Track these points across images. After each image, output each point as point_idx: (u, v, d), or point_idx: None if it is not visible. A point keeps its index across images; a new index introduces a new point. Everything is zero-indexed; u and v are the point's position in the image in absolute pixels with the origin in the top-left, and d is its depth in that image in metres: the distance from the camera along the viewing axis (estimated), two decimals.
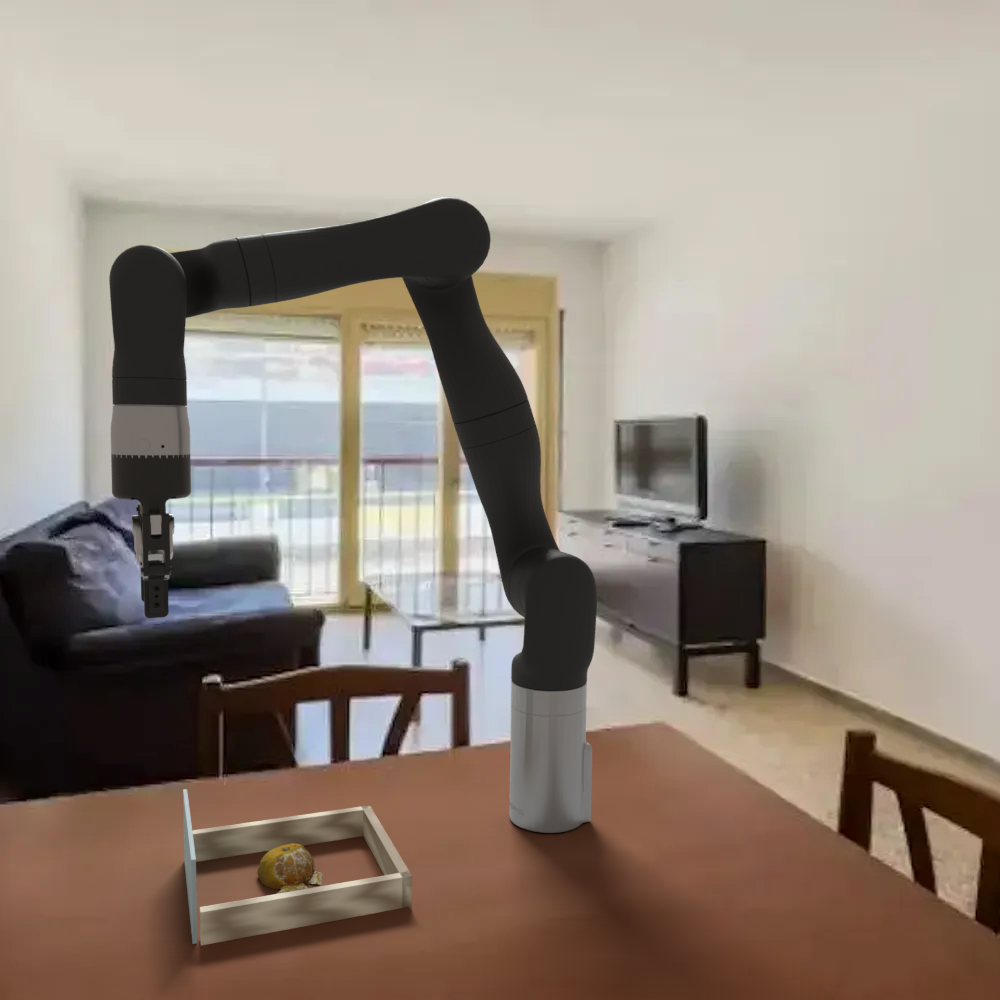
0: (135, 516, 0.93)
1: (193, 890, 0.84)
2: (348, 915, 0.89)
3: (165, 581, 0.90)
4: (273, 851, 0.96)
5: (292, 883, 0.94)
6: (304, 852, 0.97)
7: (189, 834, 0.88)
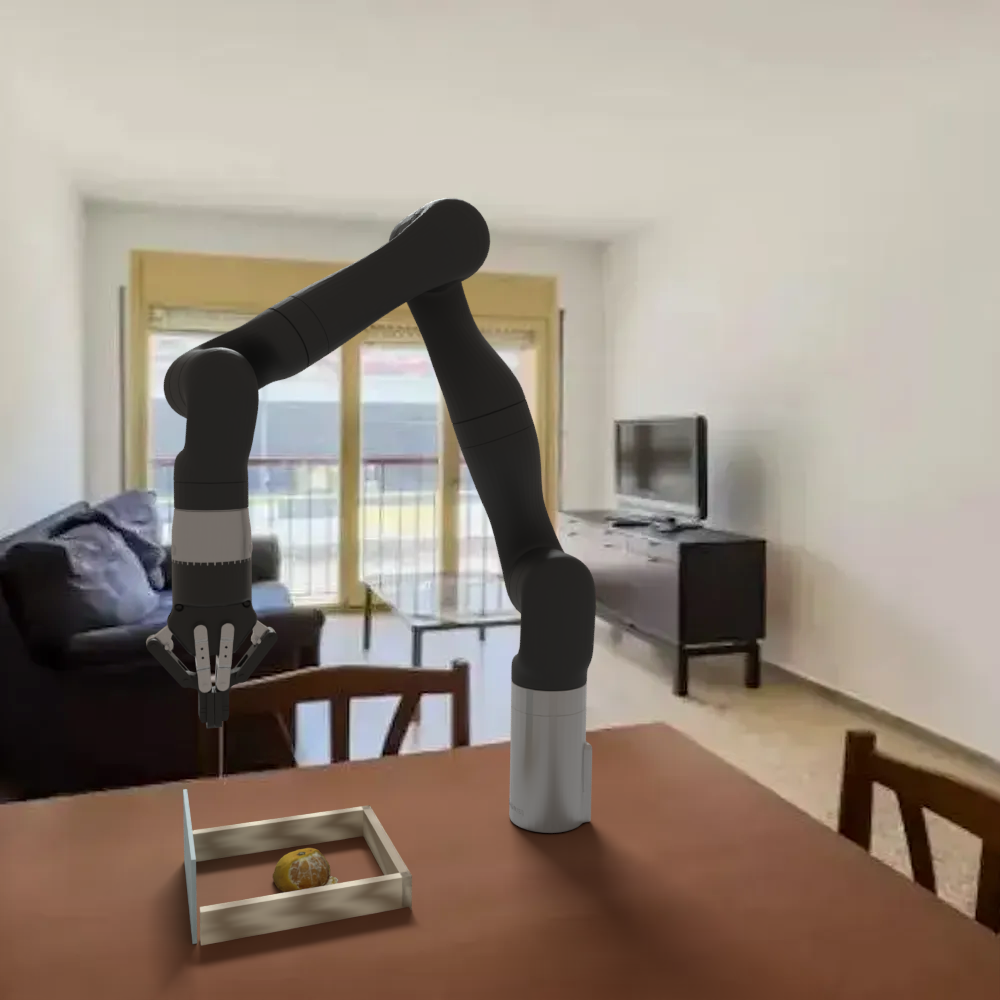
0: (198, 624, 0.89)
1: (193, 890, 0.84)
2: (348, 915, 0.89)
3: None
4: (288, 855, 0.96)
5: None
6: (319, 857, 0.96)
7: (189, 834, 0.88)
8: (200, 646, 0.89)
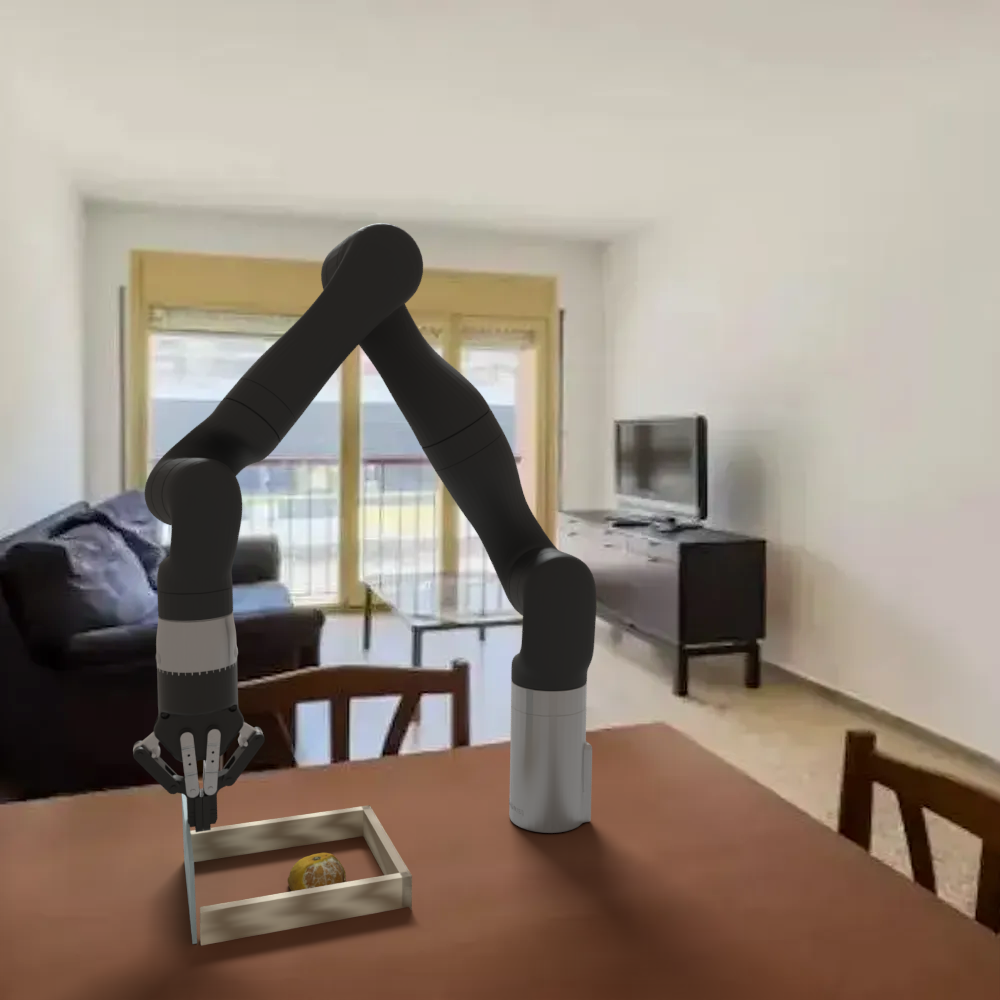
0: (184, 731, 0.89)
1: (192, 890, 0.84)
2: (348, 915, 0.89)
3: None
4: (303, 860, 0.95)
5: None
6: (335, 862, 0.95)
7: (187, 834, 0.88)
8: (187, 753, 0.89)
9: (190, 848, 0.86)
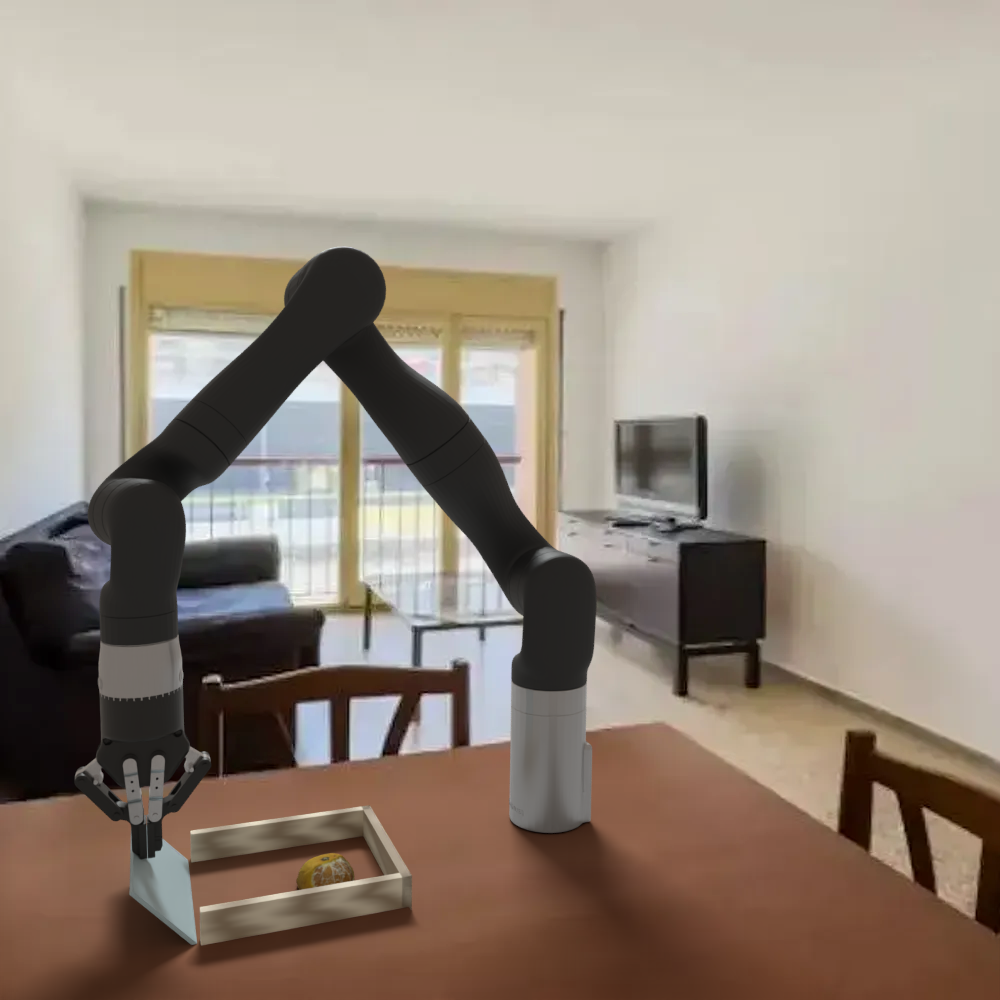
0: (127, 758, 0.87)
1: (154, 912, 0.82)
2: (348, 915, 0.89)
3: None
4: (312, 860, 0.94)
5: None
6: (343, 862, 0.95)
7: (130, 866, 0.87)
8: (130, 779, 0.87)
9: (131, 880, 0.84)
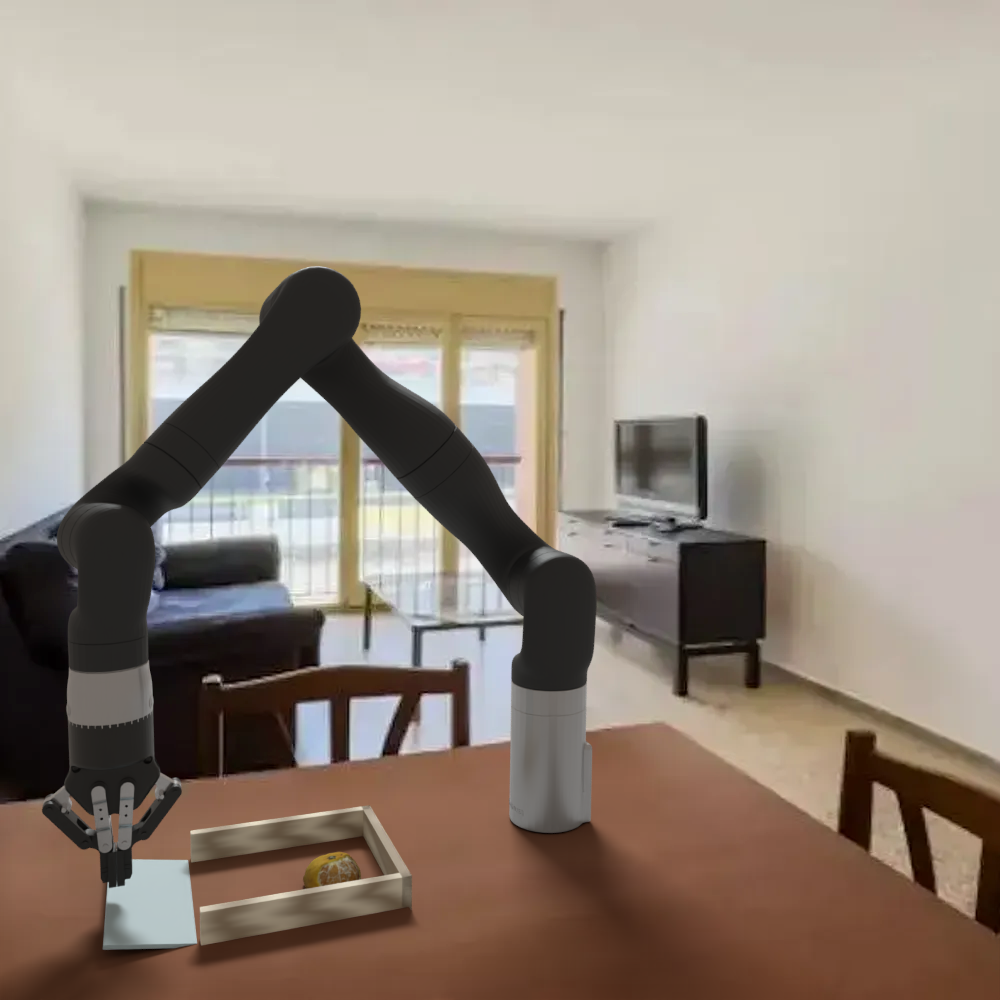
0: (96, 785, 0.86)
1: (137, 947, 0.82)
2: (348, 915, 0.89)
3: None
4: (319, 859, 0.95)
5: None
6: (350, 861, 0.95)
7: (105, 917, 0.86)
8: (98, 807, 0.86)
9: (104, 932, 0.83)
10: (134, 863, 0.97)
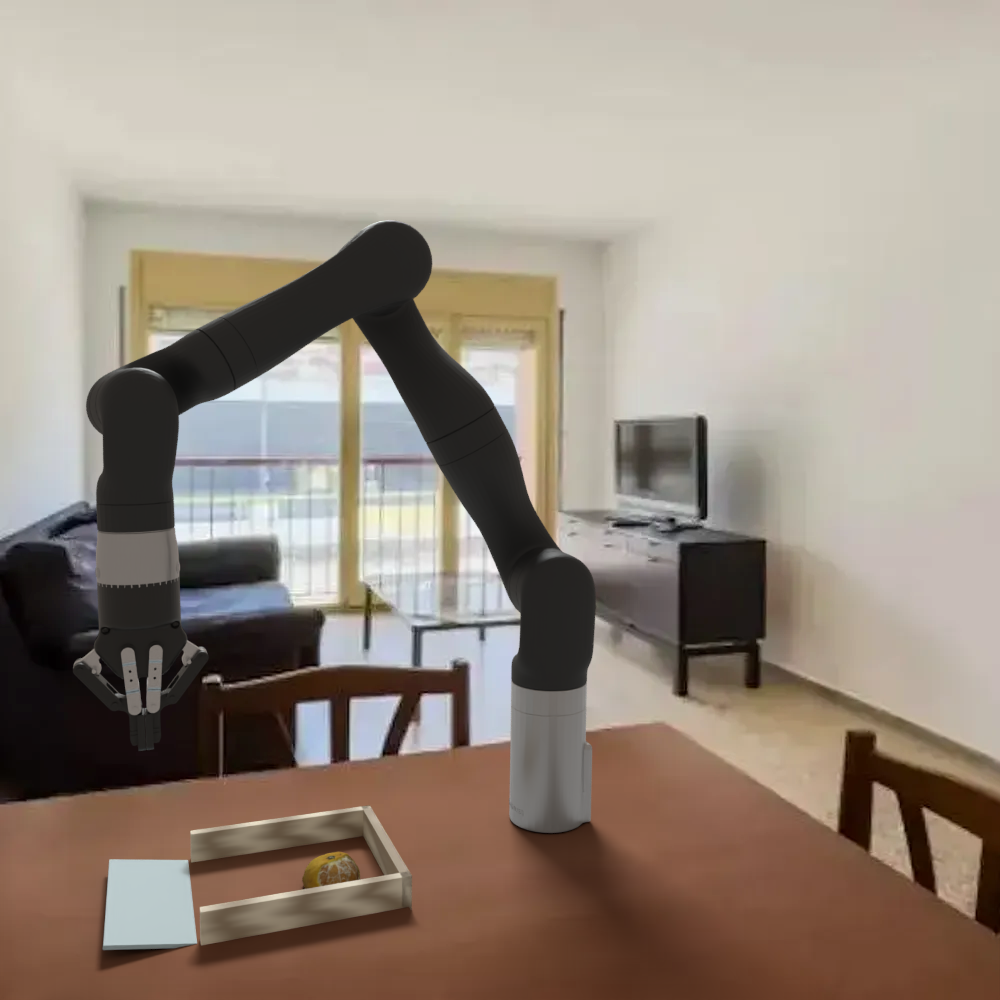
0: (125, 647, 0.88)
1: (137, 947, 0.82)
2: (348, 915, 0.89)
3: None
4: (318, 859, 0.95)
5: None
6: (349, 861, 0.95)
7: (105, 917, 0.86)
8: (128, 669, 0.88)
9: (104, 932, 0.83)
10: (134, 863, 0.97)
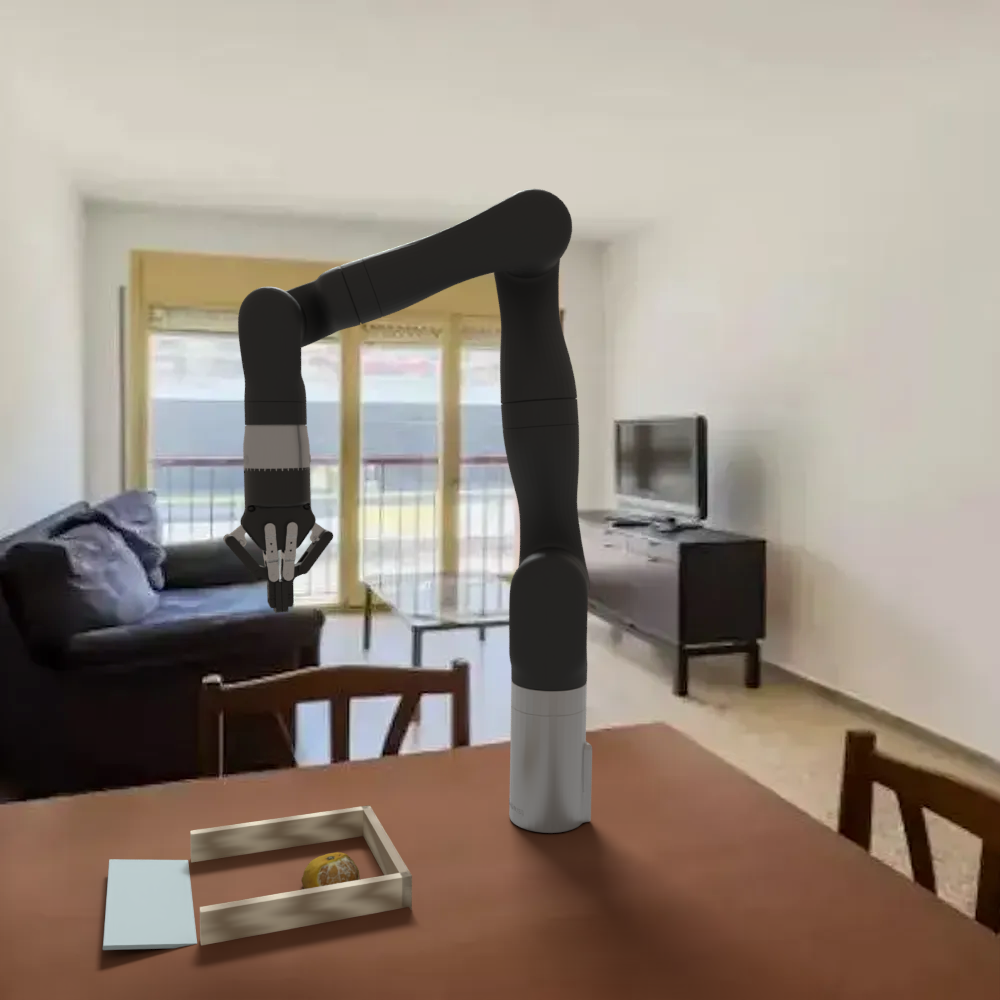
0: (268, 523, 1.05)
1: (137, 947, 0.82)
2: (348, 915, 0.89)
3: None
4: (317, 860, 0.95)
5: None
6: (349, 862, 0.95)
7: (105, 917, 0.86)
8: (269, 541, 1.05)
9: (104, 932, 0.83)
10: (134, 863, 0.97)
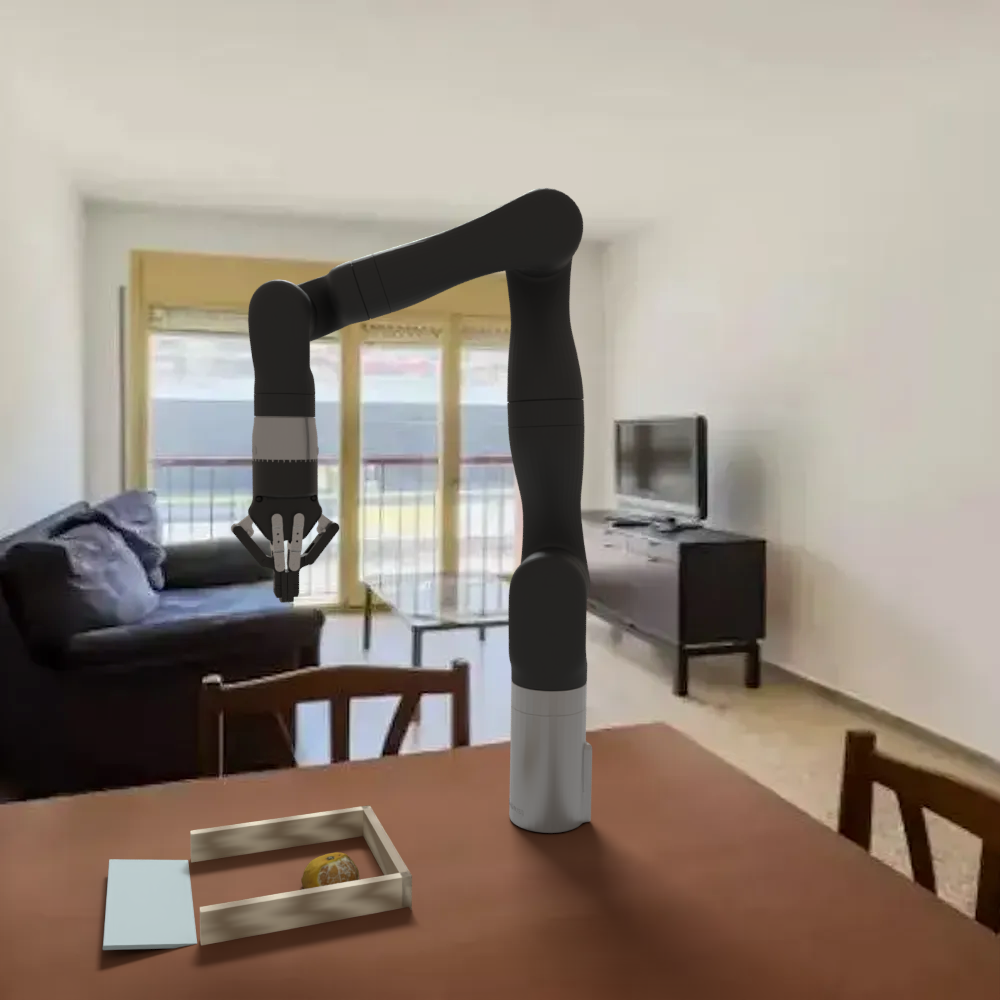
0: (275, 514, 1.06)
1: (137, 947, 0.82)
2: (348, 915, 0.89)
3: None
4: (317, 860, 0.95)
5: None
6: (348, 861, 0.95)
7: (105, 917, 0.86)
8: (276, 532, 1.06)
9: (104, 932, 0.83)
10: (134, 863, 0.97)
